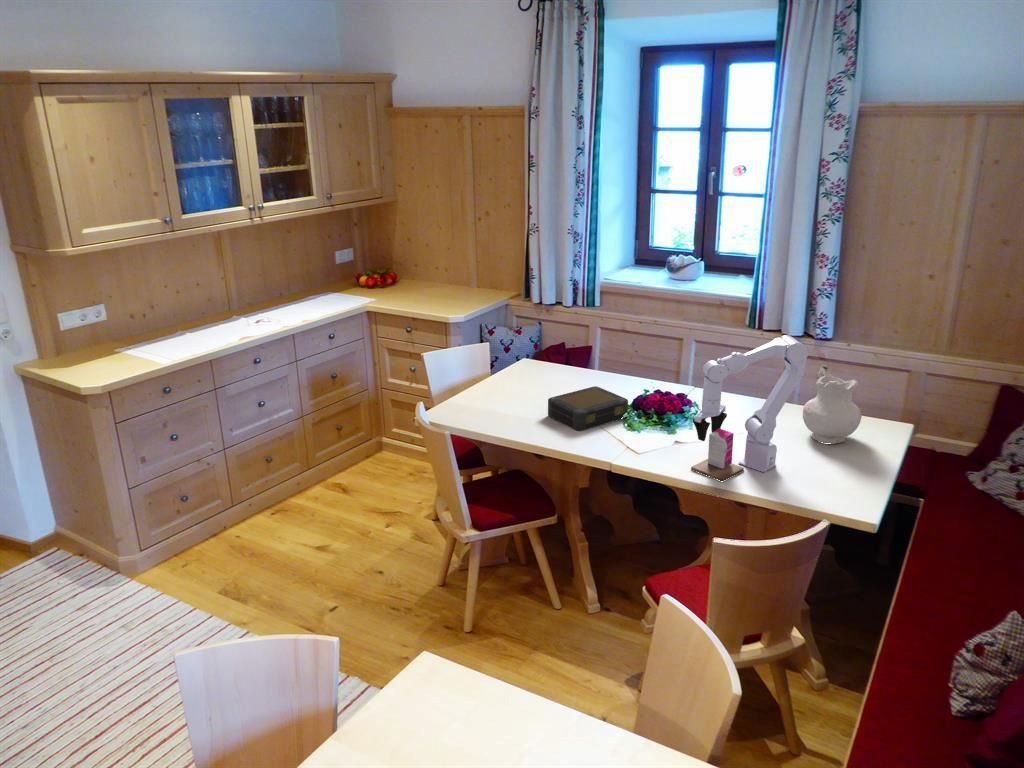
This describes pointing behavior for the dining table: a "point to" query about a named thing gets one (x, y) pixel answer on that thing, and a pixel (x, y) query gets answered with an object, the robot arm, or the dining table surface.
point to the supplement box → (720, 448)
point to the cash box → (587, 408)
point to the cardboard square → (717, 470)
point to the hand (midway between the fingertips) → (708, 436)
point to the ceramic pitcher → (832, 409)
